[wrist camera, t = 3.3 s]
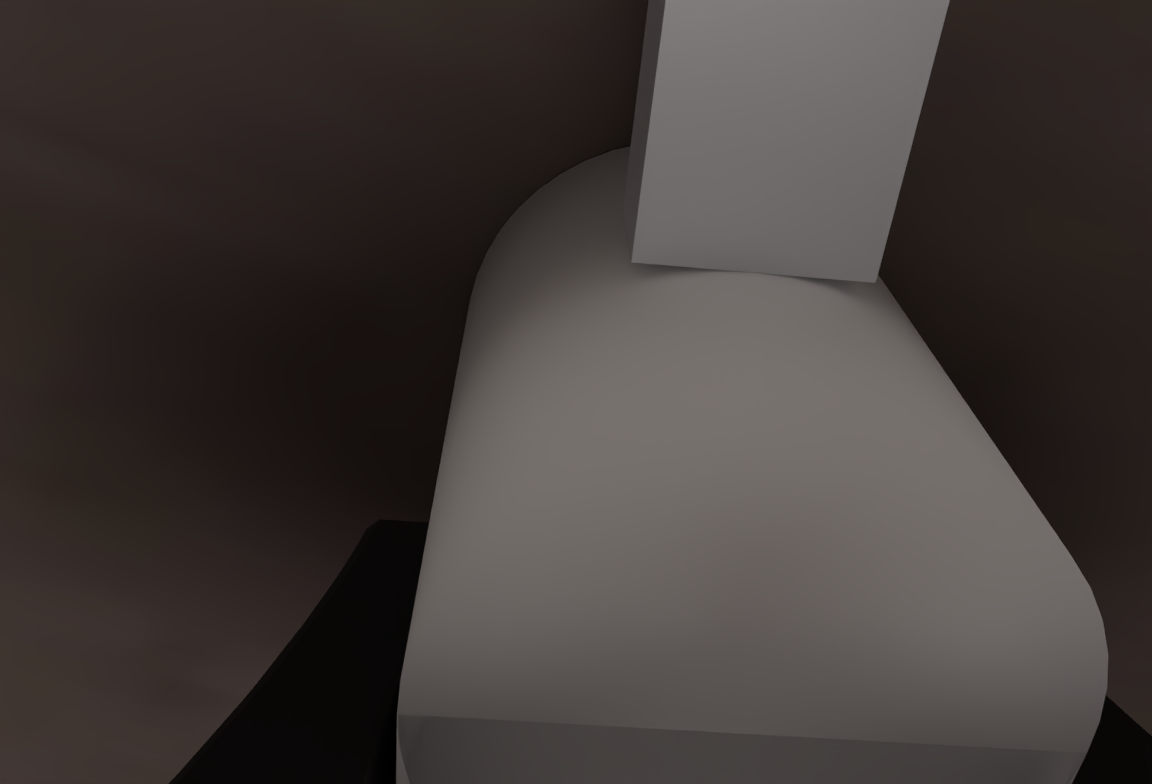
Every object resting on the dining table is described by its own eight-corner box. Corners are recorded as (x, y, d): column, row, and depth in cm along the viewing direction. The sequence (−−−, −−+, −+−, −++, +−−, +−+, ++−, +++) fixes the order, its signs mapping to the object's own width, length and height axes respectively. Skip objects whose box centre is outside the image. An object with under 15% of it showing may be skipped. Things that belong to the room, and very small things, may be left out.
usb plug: (972, -52, 8) (1412, 96, 4) (755, 761, 13) (851, 1227, 9) (487, -103, 8) (405, -5, 4) (446, 745, 13) (391, 1213, 9)
